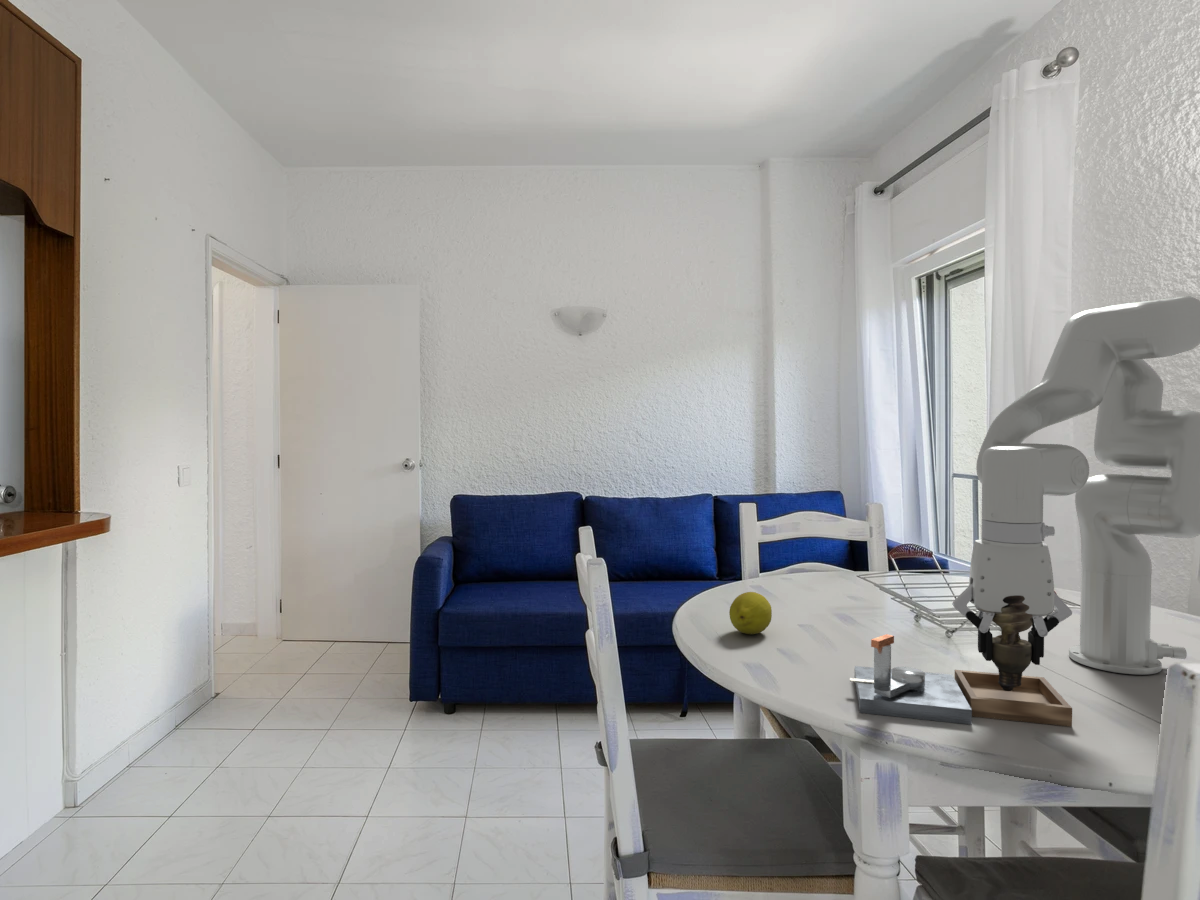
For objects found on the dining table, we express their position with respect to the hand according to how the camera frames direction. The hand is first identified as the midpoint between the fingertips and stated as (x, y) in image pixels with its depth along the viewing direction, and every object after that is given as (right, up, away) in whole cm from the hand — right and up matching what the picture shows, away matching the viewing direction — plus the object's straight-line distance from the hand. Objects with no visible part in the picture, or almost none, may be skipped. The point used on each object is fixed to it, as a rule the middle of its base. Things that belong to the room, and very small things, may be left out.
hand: (1010, 658), depth 100 cm
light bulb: (0, -5, 0) cm, 5 cm away
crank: (-16, -4, 0) cm, 17 cm away
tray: (0, -7, 0) cm, 7 cm away
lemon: (-30, -6, +35) cm, 46 cm away
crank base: (-14, -7, +2) cm, 15 cm away
